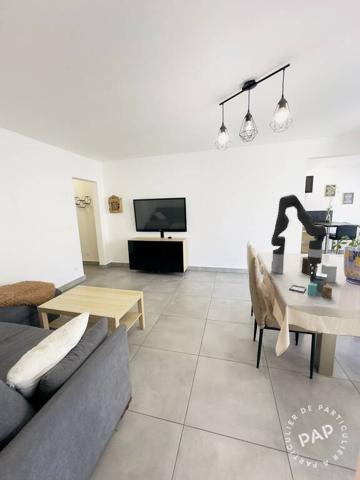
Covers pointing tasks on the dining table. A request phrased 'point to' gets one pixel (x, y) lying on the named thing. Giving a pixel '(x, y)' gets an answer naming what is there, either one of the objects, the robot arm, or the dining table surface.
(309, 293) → the teal block
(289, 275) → the dining table surface
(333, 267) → the supplement box
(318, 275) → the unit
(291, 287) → the tray
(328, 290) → the walnut block
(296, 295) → the dining table surface
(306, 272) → the pillar candle
